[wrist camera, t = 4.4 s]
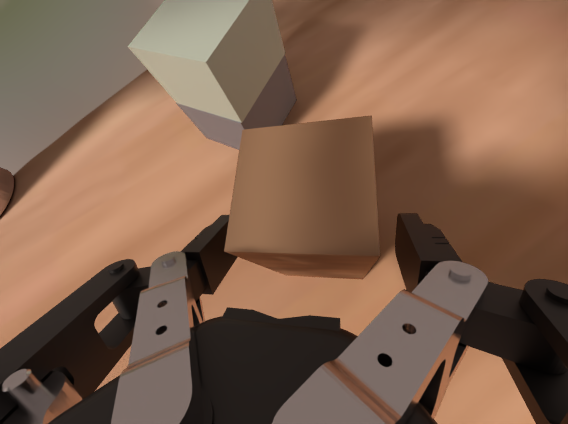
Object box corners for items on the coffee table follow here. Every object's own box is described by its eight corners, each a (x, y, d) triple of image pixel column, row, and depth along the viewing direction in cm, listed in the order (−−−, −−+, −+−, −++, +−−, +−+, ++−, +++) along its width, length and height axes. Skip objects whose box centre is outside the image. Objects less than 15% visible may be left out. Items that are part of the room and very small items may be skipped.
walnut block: (286, 275, 18) (224, 251, 9) (290, 207, 20) (242, 129, 11) (362, 279, 17) (380, 255, 8) (359, 205, 19) (371, 115, 9)
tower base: (207, 138, 25) (176, 103, 20) (241, 87, 26) (218, 42, 22) (262, 159, 22) (240, 123, 18) (296, 100, 24) (284, 53, 19)
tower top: (176, 103, 20) (127, 46, 16) (219, 42, 22) (184, -26, 17) (242, 122, 18) (205, 62, 13) (285, 53, 19) (265, -24, 15)
